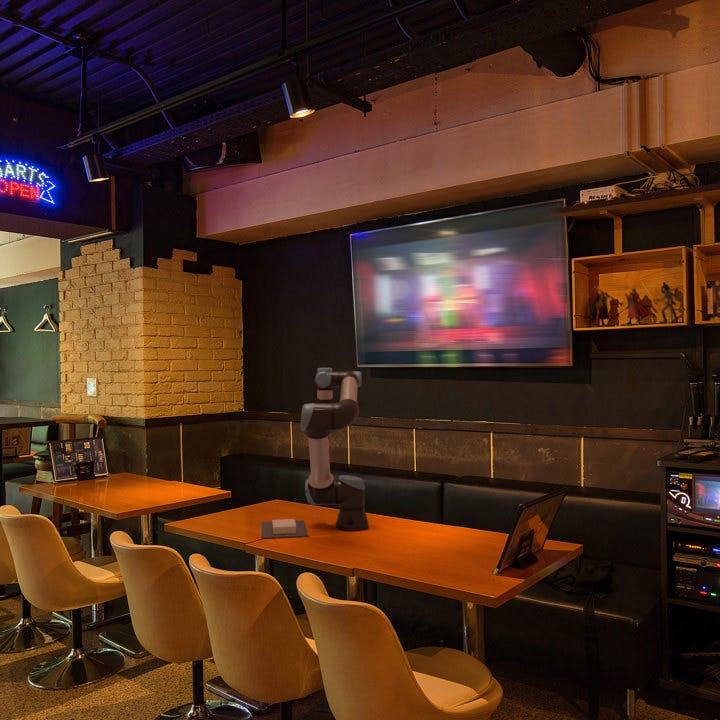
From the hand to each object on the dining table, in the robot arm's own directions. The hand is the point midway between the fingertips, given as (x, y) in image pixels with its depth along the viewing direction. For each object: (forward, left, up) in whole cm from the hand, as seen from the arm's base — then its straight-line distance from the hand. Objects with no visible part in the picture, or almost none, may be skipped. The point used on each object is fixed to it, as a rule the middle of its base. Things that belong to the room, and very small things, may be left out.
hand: (325, 446), depth 336 cm
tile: (-9, +30, -32) cm, 44 cm away
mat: (-11, +31, -34) cm, 48 cm away
